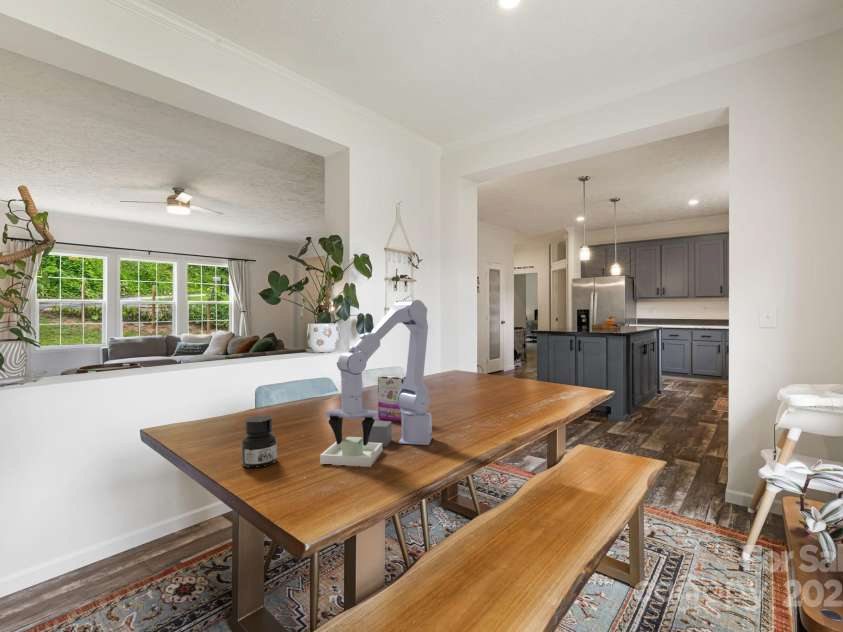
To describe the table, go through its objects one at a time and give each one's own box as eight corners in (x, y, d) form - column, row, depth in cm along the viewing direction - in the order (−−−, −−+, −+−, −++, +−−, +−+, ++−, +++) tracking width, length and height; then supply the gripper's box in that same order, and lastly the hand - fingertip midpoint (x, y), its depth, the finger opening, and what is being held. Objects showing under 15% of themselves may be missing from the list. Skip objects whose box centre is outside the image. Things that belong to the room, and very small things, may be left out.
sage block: (362, 453, 117) (362, 437, 117) (357, 458, 113) (357, 442, 113) (347, 452, 118) (347, 436, 118) (342, 457, 114) (342, 441, 114)
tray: (382, 451, 120) (382, 443, 120) (370, 467, 108) (370, 457, 108) (336, 449, 123) (336, 440, 123) (320, 464, 111) (320, 455, 111)
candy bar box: (410, 419, 155) (409, 375, 155) (403, 422, 151) (402, 378, 151) (385, 416, 160) (384, 374, 160) (377, 419, 156) (377, 376, 156)
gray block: (391, 440, 131) (391, 421, 131) (386, 446, 125) (386, 426, 125) (373, 439, 132) (373, 420, 132) (367, 445, 126) (367, 425, 126)
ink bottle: (244, 471, 106) (243, 425, 106) (236, 461, 113) (236, 418, 113) (282, 463, 112) (282, 419, 112) (273, 454, 119) (272, 412, 119)
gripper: (321, 397, 113) (322, 447, 113) (372, 398, 110) (373, 449, 110) (331, 392, 119) (331, 439, 120) (380, 393, 117) (380, 441, 117)
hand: (352, 443), depth 115 cm, fingers open, 7 cm apart
